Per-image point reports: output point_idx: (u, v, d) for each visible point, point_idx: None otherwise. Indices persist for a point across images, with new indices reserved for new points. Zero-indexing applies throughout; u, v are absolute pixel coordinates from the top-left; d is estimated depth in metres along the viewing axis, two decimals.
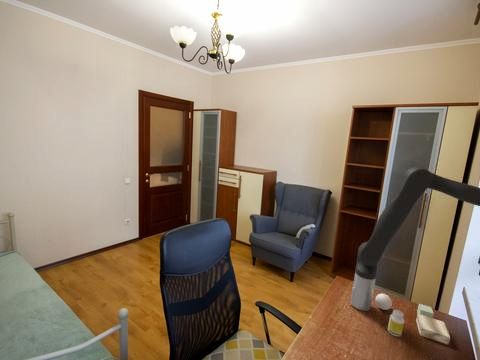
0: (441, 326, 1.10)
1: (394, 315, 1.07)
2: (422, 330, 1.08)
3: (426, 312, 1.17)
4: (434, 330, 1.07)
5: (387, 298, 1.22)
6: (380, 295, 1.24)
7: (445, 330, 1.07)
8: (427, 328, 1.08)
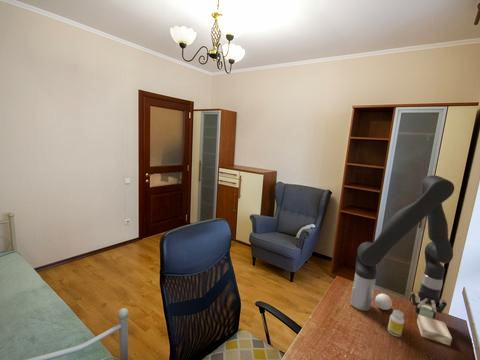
0: (442, 326, 1.09)
1: (394, 315, 1.07)
2: (424, 331, 1.07)
3: (426, 312, 1.17)
4: (435, 331, 1.06)
5: (387, 298, 1.22)
6: (380, 295, 1.24)
7: (446, 331, 1.07)
8: (429, 329, 1.07)
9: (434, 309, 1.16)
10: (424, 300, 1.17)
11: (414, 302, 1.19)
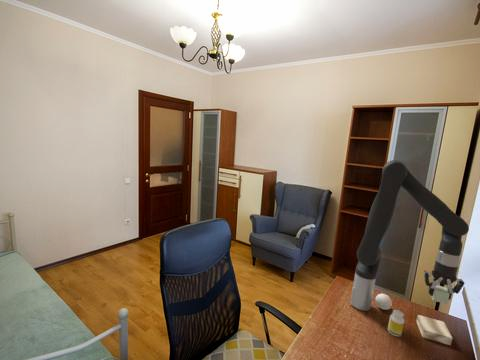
0: (442, 326, 1.09)
1: (394, 315, 1.07)
2: (424, 332, 1.07)
3: (441, 293, 1.05)
4: (436, 331, 1.06)
5: (387, 298, 1.22)
6: (380, 295, 1.24)
7: (446, 330, 1.07)
8: (429, 329, 1.07)
9: (450, 289, 1.04)
10: (439, 279, 1.05)
11: (427, 282, 1.08)
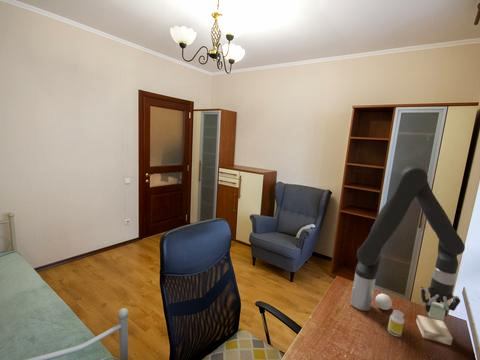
0: (442, 326, 1.09)
1: (394, 315, 1.07)
2: (425, 332, 1.07)
3: (437, 310, 1.06)
4: (436, 331, 1.06)
5: (387, 298, 1.22)
6: (380, 295, 1.24)
7: (446, 330, 1.07)
8: (430, 329, 1.07)
9: (446, 306, 1.06)
10: (435, 296, 1.06)
11: (424, 299, 1.09)
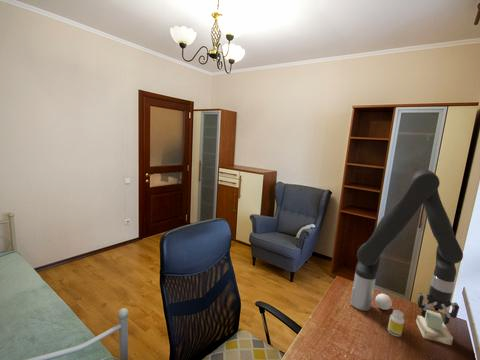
0: (442, 326, 1.09)
1: (394, 315, 1.07)
2: (425, 333, 1.06)
3: (435, 319, 1.07)
4: (436, 332, 1.06)
5: (387, 298, 1.22)
6: (380, 295, 1.24)
7: (446, 330, 1.07)
8: (430, 330, 1.07)
9: (448, 314, 1.06)
10: (433, 304, 1.07)
11: (420, 304, 1.10)
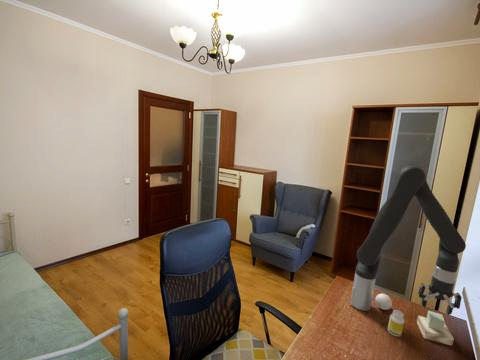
0: None
1: (394, 315, 1.07)
2: (426, 333, 1.06)
3: (436, 320, 1.07)
4: (437, 332, 1.06)
5: (387, 298, 1.22)
6: (380, 295, 1.24)
7: (447, 331, 1.07)
8: (431, 330, 1.07)
9: (451, 304, 1.05)
10: (435, 294, 1.06)
11: (421, 294, 1.09)
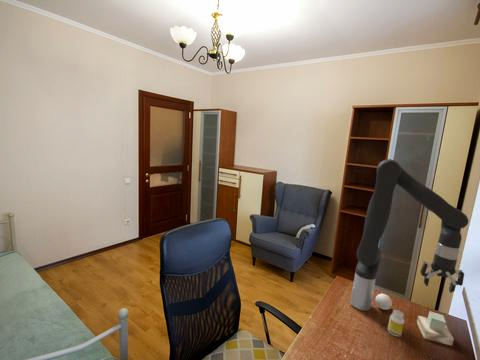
0: None
1: (394, 315, 1.07)
2: (426, 333, 1.06)
3: (438, 321, 1.06)
4: (437, 332, 1.06)
5: (387, 298, 1.22)
6: (380, 295, 1.24)
7: (447, 331, 1.07)
8: (431, 330, 1.07)
9: (454, 281, 1.04)
10: (437, 271, 1.06)
11: (423, 272, 1.09)
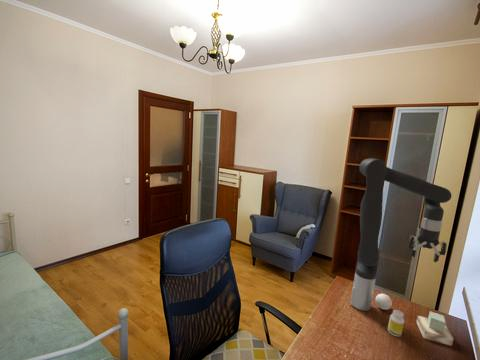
0: None
1: (394, 315, 1.07)
2: (426, 333, 1.06)
3: (437, 321, 1.06)
4: (437, 332, 1.06)
5: (387, 298, 1.22)
6: (380, 295, 1.24)
7: (447, 331, 1.07)
8: (430, 330, 1.07)
9: (437, 252, 1.15)
10: (423, 243, 1.17)
11: (410, 245, 1.20)
